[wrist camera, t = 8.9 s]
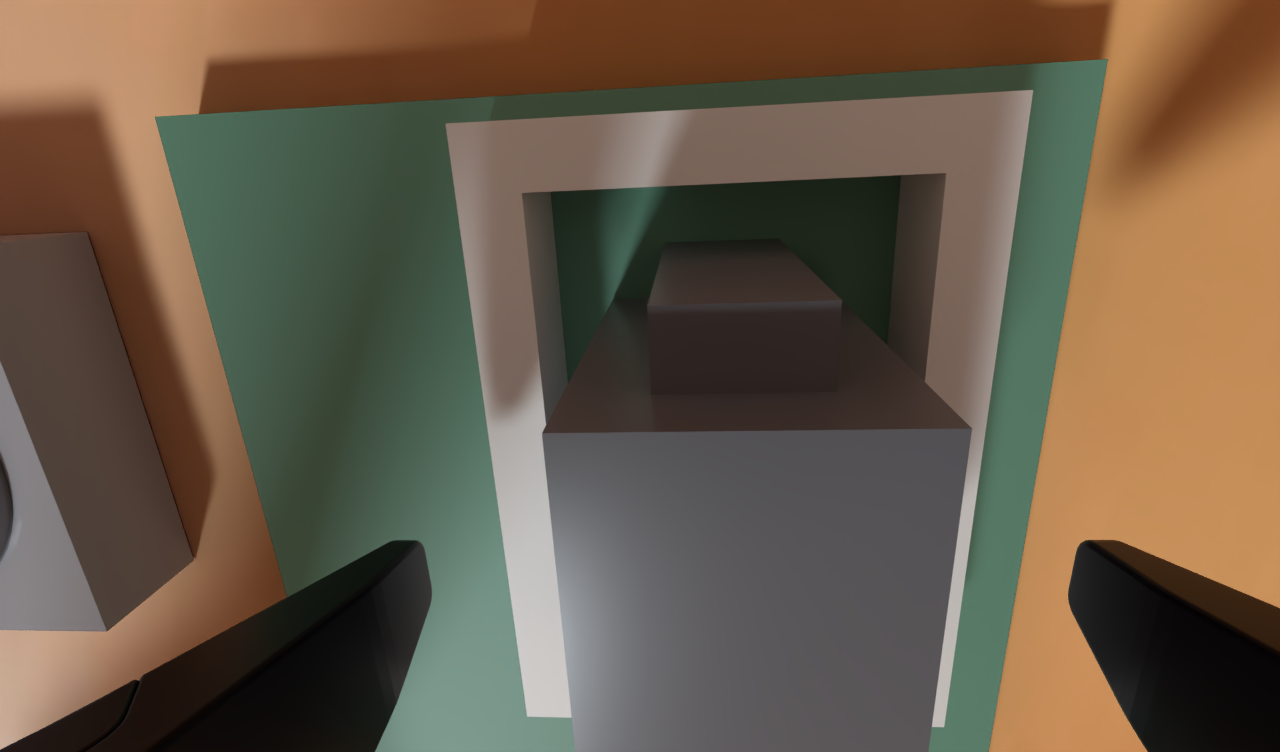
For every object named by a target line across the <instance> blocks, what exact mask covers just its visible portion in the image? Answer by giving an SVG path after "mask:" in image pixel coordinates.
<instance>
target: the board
mask: <svg viewBox="0 0 1280 752" xmlns="http://www.w3.org/2000/svg"><path fill="white" fill-rule="evenodd" d="M1107 61H1108V59H1102V60H1086V61H1069V62H1053V63H1036V64H1020V65H1003V66H987V67H970V68H954V69H937V70H921V71H904V72H888V73H871V74H855V75H838V76H822V77H805V78H789V79H772V80H756V81H739V82H723V83H707V84H690V85H674V86H657V87H641V88H624V89H608V90H591V91H575V92H558V93H542V94H525V95H509V96H492V97H476V98H459V99H443V100H426V101H410V102H393V103H377V104H360V105H344V106H327V107H311V108H294V109H278V110H261V111H245V112H228V113H212V114H195V115H179V116H162V117H155V119H156V123H157V127H158V130H159V134H160V137H161V141H162V145H163V148H164V152H165V156H166V159H167V163H168V166H169V170H170V174H171V177H172V181H173V185H174V188H175V192H176V196H177V199H178V203H179V206H180V210H181V214H182V217H183V221H184V225H185V228H186V232H187V235H188V239H189V243H190V246H191V250H192V254H193V257H194V261H195V264H196V268H197V272H198V275H199V279H200V283H201V286H202V290H203V294H204V297H205V301H206V304H207V308H208V312H209V315H210V319H211V323H212V326H213V330H214V333H215V337H216V341H217V344H218V348H219V352H220V355H221V359H222V363H223V366H224V370H225V373H226V377H227V381H228V384H229V388H230V392H231V395H232V399H233V402H234V406H235V410H236V413H237V417H238V421H239V424H240V428H241V432H242V435H243V439H244V442H245V446H246V450H247V453H248V457H249V461H250V464H251V468H252V471H253V475H254V479H255V482H256V486H257V490H258V493H259V497H260V501H261V504H262V508H263V511H264V515H265V519H266V522H267V526H268V530H269V533H270V537H271V540H272V544H273V548H274V551H275V555H276V559H277V562H278V566H279V569H280V573H281V577H282V580H283V584H284V588H285V591H286V595H287V597H288V596H290V595H292V594H294V593H296V592H298V591H300V590H301V589H303V588H305V587H307V586H309V585H311V584H312V583H314V582H316V581H318V580H320V579H322V578H324V577H325V576H327V575H329V574H331V573H333V572H335V571H336V570H338V569H340V568H342V567H344V566H346V565H348V564H349V563H351V562H353V561H355V560H357V559H359V558H360V557H362V556H364V555H366V554H368V553H370V552H372V551H373V550H375V549H377V548H379V547H381V546H383V545H384V544H386V543H388V542H390V541H393V540H418V541H419V542H421V543H422V544H423V546H424V549H425V553H426V558H427V563H428V569H429V574H430V580H431V585H432V600H431V605H430V608H429V611H428V614H427V617H426V620H425V623H424V626H423V629H422V632H421V635H420V638H419V641H418V644H417V647H416V650H415V653H414V656H413V659H412V661H411V664H410V667H409V670H408V673H407V676H406V679H405V682H404V685H403V688H402V691H401V693H400V696H399V699H398V702H397V704H396V706H395V709H394V711H393V713H392V716H391V718H390V720H389V723H388V725H387V727H386V729H385V731H384V733H383V736H382V738H381V740H380V742H379V744H378V746H377V749H376V751H375V752H575V745H574V735H573V726H572V716H571V706H570V697H569V687H568V678H567V668H566V659H565V649H564V640H563V630H562V621H561V611H560V602H559V592H558V583H557V573H556V564H555V554H554V545H553V535H552V525H551V516H550V506H549V497H548V487H547V478H546V468H545V459H544V449H543V440H542V432H543V430H544V428H545V426H546V424H547V423H548V421H549V419H550V417H551V415H552V413H553V411H554V409H555V408H556V406H557V404H558V402H559V400H560V398H561V396H562V394H563V392H564V391H565V389H566V387H567V385H568V383H569V381H570V379H571V377H572V376H573V374H574V372H575V370H576V368H577V366H578V364H579V362H580V360H581V359H582V357H583V355H584V353H585V351H586V349H587V347H588V345H589V343H590V342H591V340H592V338H593V336H594V334H595V332H596V330H597V328H598V327H599V325H600V323H601V321H602V319H603V317H604V315H605V313H606V311H607V310H608V308H609V306H610V304H611V302H612V300H613V299H640V298H650V294H651V291H652V287H653V284H654V280H655V277H656V273H657V270H658V266H659V262H660V259H661V255H662V252H663V248H664V245H665V243H670V242H697V241H724V240H752V239H780V240H781V241H782V242H783V243H784V244H785V245H786V246H787V247H788V248H789V249H790V250H791V251H792V252H793V253H794V254H795V255H796V256H797V257H798V258H799V259H800V260H801V261H802V262H803V263H804V264H805V265H806V266H807V267H808V268H809V269H810V270H811V271H813V272H814V273H815V274H816V275H817V276H818V277H819V278H820V279H821V280H822V281H823V282H824V283H825V284H826V285H827V286H828V287H829V288H830V289H831V290H832V291H833V292H834V293H835V294H836V295H837V296H838V297H839V298H840V299H841V300H842V301H843V302H844V303H845V304H846V305H847V306H848V307H849V308H850V309H851V310H852V311H853V312H854V313H855V314H856V315H857V316H858V317H859V318H860V319H861V320H862V321H863V322H864V323H865V324H866V325H867V326H868V327H869V328H870V329H871V330H872V331H873V332H874V333H875V334H876V335H877V336H878V337H879V338H880V339H881V340H882V341H883V342H884V343H885V344H886V345H887V346H888V347H889V348H891V349H892V350H893V351H894V352H895V353H896V354H897V355H898V356H899V357H900V358H901V359H902V360H903V361H904V362H905V363H906V364H907V365H908V366H909V367H910V368H911V369H912V370H913V371H914V372H915V373H916V374H917V375H918V376H919V377H920V378H921V379H922V380H923V381H924V382H925V383H926V384H927V385H928V386H929V387H930V388H931V389H932V390H933V391H934V392H935V393H936V394H937V395H938V396H940V397H941V398H942V399H943V400H944V401H945V402H946V403H947V404H948V405H949V406H950V407H951V408H952V409H953V410H954V411H955V412H956V413H957V414H958V415H959V416H960V417H961V418H962V419H963V420H964V421H965V422H966V423H967V424H968V425H969V426H970V427H971V428H972V433H971V441H970V448H969V456H968V463H967V470H966V478H965V485H964V492H963V500H962V507H961V515H960V522H959V529H958V537H957V544H956V552H955V559H954V566H953V574H952V581H951V589H950V596H949V603H948V611H947V618H946V626H945V633H944V640H943V648H942V655H941V662H940V670H939V677H938V685H937V692H936V699H935V707H934V714H933V722H932V729H931V736H930V744H929V751H928V752H989V746H990V740H991V734H992V729H993V723H994V717H995V711H996V705H997V700H998V694H999V688H1000V682H1001V676H1002V671H1003V665H1004V659H1005V653H1006V647H1007V642H1008V636H1009V630H1010V624H1011V618H1012V613H1013V607H1014V601H1015V595H1016V589H1017V584H1018V578H1019V572H1020V566H1021V560H1022V555H1023V549H1024V543H1025V537H1026V531H1027V526H1028V520H1029V514H1030V508H1031V502H1032V497H1033V491H1034V485H1035V479H1036V473H1037V467H1038V462H1039V456H1040V450H1041V444H1042V438H1043V433H1044V427H1045V421H1046V415H1047V409H1048V404H1049V398H1050V392H1051V386H1052V380H1053V375H1054V369H1055V363H1056V357H1057V351H1058V346H1059V340H1060V334H1061V328H1062V322H1063V317H1064V311H1065V305H1066V299H1067V293H1068V288H1069V282H1070V276H1071V270H1072V264H1073V259H1074V253H1075V247H1076V241H1077V235H1078V230H1079V224H1080V218H1081V212H1082V206H1083V201H1084V195H1085V189H1086V183H1087V177H1088V172H1089V166H1090V160H1091V154H1092V148H1093V143H1094V137H1095V131H1096V125H1097V119H1098V114H1099V108H1100V102H1101V96H1102V90H1103V85H1104V79H1105V73H1106V67H1107Z"/></svg>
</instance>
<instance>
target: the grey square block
mask: <svg viewBox="0 0 1280 752" xmlns="http://www.w3.org/2000/svg"><path fill="white" fill-rule="evenodd" d="M192 561H194V559H193V556H192V553H191V550H190V547H189V544H188V541H187V538H186V535H185V532H184V529H183V526H182V523H181V520H180V516H179V513H178V510H177V507H176V504H175V501H174V498H173V495H172V492H171V489H170V486H169V483H168V480H167V477H166V473H165V470H164V467H163V464H162V461H161V458H160V455H159V452H158V449H157V446H156V443H155V440H154V437H153V433H152V430H151V427H150V424H149V421H148V418H147V415H146V412H145V409H144V406H143V403H142V400H141V397H140V394H139V390H138V387H137V384H136V381H135V378H134V375H133V372H132V369H131V366H130V363H129V360H128V357H127V354H126V351H125V347H124V344H123V341H122V338H121V335H120V332H119V329H118V326H117V323H116V320H115V317H114V314H113V311H112V308H111V304H110V301H109V298H108V295H107V292H106V289H105V286H104V283H103V280H102V277H101V274H100V271H99V268H98V264H97V261H96V258H95V255H94V252H93V249H92V246H91V243H90V240H89V237H88V234H87V232H69V233H47V234H24V235H2V236H0V630H36V631H105V632H107V631H108V630H109V629H111V628H112V627H113V626H114V625H115V624H117V623H118V622H119V621H120V620H122V619H123V618H124V617H125V616H126V615H128V614H129V613H130V612H131V611H133V610H134V609H135V608H136V607H137V606H139V605H140V604H141V603H142V602H144V601H145V600H146V599H147V598H148V597H150V596H151V595H152V594H153V593H155V592H156V591H157V590H158V589H159V588H161V587H162V586H163V585H164V584H165V583H167V582H168V581H169V580H170V579H172V578H173V577H174V576H175V575H176V574H178V573H179V572H180V571H181V570H183V569H184V568H185V567H186V566H187V565H189V564H190V563H191V562H192Z"/></svg>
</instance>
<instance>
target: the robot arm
mask: <svg viewBox="0 0 1280 752" xmlns="http://www.w3.org/2000/svg"><path fill="white" fill-rule="evenodd" d="M431 600H432V585H431V580H430V574H429V569H428V563H427V558H426V553H425V549H424V546H423V544H422V543H421V542H419V541H418V540H393V541H390V542H388V543H386V544H384V545H383V546H381V547H379V548H377V549H375V550H373V551H372V552H370V553H368V554H366V555H364V556H362V557H360V558H359V559H357V560H355V561H353V562H351V563H349V564H348V565H346V566H344V567H342V568H340V569H338V570H336V571H335V572H333V573H331V574H329V575H327V576H325V577H324V578H322V579H320V580H318V581H316V582H314V583H312V584H311V585H309V586H307V587H305V588H303V589H301V590H300V591H298V592H296V593H294V594H292V595H290V596H288V597H287V598H285V599H283V600H281V601H279V602H277V603H276V604H274V605H272V606H270V607H268V608H266V609H264V610H263V611H261V612H259V613H257V614H255V615H253V616H252V617H250V618H248V619H246V620H244V621H242V622H240V623H239V624H237V625H235V626H233V627H231V628H229V629H228V630H226V631H224V632H222V633H220V634H218V635H216V636H215V637H213V638H211V639H209V640H207V641H205V642H204V643H202V644H200V645H198V646H196V647H194V648H193V649H191V650H189V651H187V652H185V653H183V654H181V655H180V656H178V657H176V658H174V659H172V660H170V661H169V662H167V663H165V664H163V665H161V666H159V667H157V668H156V669H154V670H152V671H150V672H148V673H146V674H145V675H143V676H142V677H141V679H140V681H139V680H133V681H131V682H129V683H128V684H126V685H124V686H122V687H120V688H118V689H117V690H115V691H113V692H111V693H109V694H107V695H106V696H104V697H102V698H100V699H98V700H96V701H94V702H92V703H90V704H89V705H87V706H85V707H83V708H81V709H79V710H77V711H75V712H73V713H71V714H70V715H68V716H66V717H64V718H62V719H60V720H58V721H56V722H54V723H52V724H51V725H49V726H47V727H45V728H43V729H41V730H39V731H37V732H35V733H33V734H31V735H29V736H27V737H25V738H23V739H21V740H19V741H17V742H15V743H13V744H11V745H9V746H7V747H5V748H3V749H1V750H0V752H375V751H376V749H377V746H378V744H379V742H380V740H381V738H382V736H383V733H384V731H385V729H386V727H387V725H388V723H389V720H390V718H391V716H392V713H393V711H394V709H395V706H396V704H397V702H398V699H399V696H400V693H401V691H402V688H403V685H404V682H405V679H406V676H407V673H408V670H409V667H410V664H411V661H412V659H413V656H414V653H415V650H416V647H417V644H418V641H419V638H420V635H421V632H422V629H423V626H424V623H425V620H426V617H427V614H428V611H429V608H430V605H431ZM1068 600H1069V605H1070V608H1071V611H1072V613H1073V615H1074V617H1075V619H1076V621H1077V623H1078V625H1079V627H1080V629H1081V631H1082V633H1083V635H1084V637H1085V639H1086V640H1087V642H1088V644H1089V646H1090V648H1091V650H1092V652H1093V654H1094V656H1095V658H1096V660H1097V662H1098V664H1099V666H1100V668H1101V670H1102V672H1103V674H1104V676H1105V677H1106V679H1107V681H1108V683H1109V685H1110V687H1111V689H1112V691H1113V693H1114V695H1115V697H1116V699H1117V701H1118V703H1119V704H1120V706H1121V708H1122V710H1123V712H1124V714H1125V715H1126V717H1127V719H1128V721H1129V722H1130V724H1131V726H1132V727H1133V729H1134V731H1135V732H1136V734H1137V735H1138V737H1139V739H1140V740H1141V742H1142V744H1143V745H1144V747H1145V748H1146V750H1147V751H1148V752H1280V608H1278V607H1276V606H1273V605H1271V604H1268V603H1266V602H1264V601H1261V600H1259V599H1257V598H1254V597H1252V596H1249V595H1247V594H1245V593H1242V592H1240V591H1237V590H1235V589H1233V588H1230V587H1228V586H1226V585H1223V584H1221V583H1218V582H1216V581H1214V580H1211V579H1209V578H1206V577H1204V576H1202V575H1199V574H1197V573H1194V572H1192V571H1190V570H1187V569H1185V568H1183V567H1180V566H1178V565H1175V564H1173V563H1171V562H1168V561H1166V560H1163V559H1161V558H1159V557H1156V556H1154V555H1151V554H1149V553H1147V552H1144V551H1142V550H1140V549H1137V548H1135V547H1132V546H1130V545H1128V544H1125V543H1123V542H1120V541H1116V540H1086V541H1084V542H1082V543H1081V544H1080V545H1079V546H1078V548H1077V551H1076V556H1075V561H1074V566H1073V571H1072V576H1071V580H1070V585H1069V591H1068Z"/></svg>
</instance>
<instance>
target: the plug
mask: <svg viewBox="0 0 1280 752" xmlns="http://www.w3.org/2000/svg"><path fill="white" fill-rule="evenodd" d="M971 433H972V428H971V427H970V426H969V425H968V424H967V423H966V422H965V421H964V420H963V419H962V418H961V417H960V416H959V415H958V414H957V413H956V412H955V411H954V410H953V409H952V408H951V407H950V406H949V405H948V404H947V403H946V402H945V401H944V400H943V399H942V398H941V397H940V396H938V395H937V394H936V393H935V392H934V391H933V390H932V389H931V388H930V387H929V386H928V385H927V384H926V383H925V382H924V381H923V380H922V379H921V378H920V377H919V376H918V375H917V374H916V373H915V372H914V371H913V370H912V369H911V368H910V367H909V366H908V365H907V364H906V363H905V362H904V361H903V360H902V359H901V358H900V357H899V356H898V355H897V354H896V353H895V352H894V351H893V350H892V349H891V348H889V347H888V346H887V345H886V344H885V343H884V342H883V341H882V340H881V339H880V338H879V337H878V336H877V335H876V334H875V333H874V332H873V331H872V330H871V329H870V328H869V327H868V326H867V325H866V324H865V323H864V322H863V321H862V320H861V319H860V318H859V317H858V316H857V315H856V314H855V313H854V312H853V311H852V310H851V309H850V308H849V307H848V306H847V305H846V304H845V303H844V302H843V301H842V300H841V299H840V298H839V297H838V296H837V295H836V294H835V293H834V292H833V291H832V290H831V289H830V288H829V287H828V286H827V285H826V284H825V283H824V282H823V281H822V280H821V279H820V278H819V277H818V276H817V275H816V274H815V273H814V272H813V271H811V270H810V269H809V268H808V267H807V266H806V265H805V264H804V263H803V262H802V261H801V260H800V259H799V258H798V257H797V256H796V255H795V254H794V253H793V252H792V251H791V250H790V249H789V248H788V247H787V246H786V245H785V244H784V243H783V242H782V241H781V240H780V239H752V240H724V241H697V242H670V243H665V245H664V248H663V252H662V255H661V259H660V262H659V266H658V270H657V273H656V277H655V280H654V284H653V287H652V291H651V294H650V298H640V299H613V300H612V302H611V304H610V306H609V308H608V310H607V311H606V313H605V315H604V317H603V319H602V321H601V323H600V325H599V327H598V328H597V330H596V332H595V334H594V336H593V338H592V340H591V342H590V343H589V345H588V347H587V349H586V351H585V353H584V355H583V357H582V359H581V360H580V362H579V364H578V366H577V368H576V370H575V372H574V374H573V376H572V377H571V379H570V381H569V383H568V385H567V387H566V389H565V391H564V392H563V394H562V396H561V398H560V400H559V402H558V404H557V406H556V408H555V409H554V411H553V413H552V415H551V417H550V419H549V421H548V423H547V424H546V426H545V428H544V430H543V432H542V440H543V449H544V459H545V468H546V478H547V487H548V497H549V506H550V516H551V525H552V535H553V545H554V554H555V564H556V573H557V583H558V592H559V602H560V611H561V621H562V630H563V640H564V649H565V659H566V668H567V678H568V687H569V697H570V706H571V716H572V726H573V735H574V745H575V752H928V751H929V744H930V736H931V729H932V722H933V714H934V707H935V699H936V692H937V685H938V677H939V670H940V662H941V655H942V648H943V640H944V633H945V626H946V618H947V611H948V603H949V596H950V589H951V581H952V574H953V566H954V559H955V552H956V544H957V537H958V529H959V522H960V515H961V507H962V500H963V492H964V485H965V478H966V470H967V463H968V456H969V448H970V441H971Z"/></svg>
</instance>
